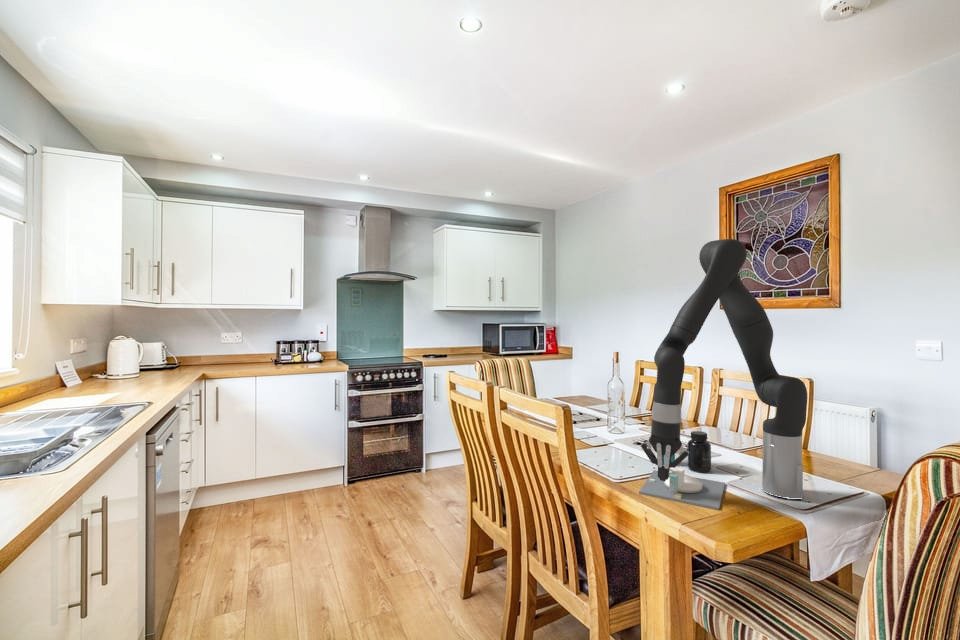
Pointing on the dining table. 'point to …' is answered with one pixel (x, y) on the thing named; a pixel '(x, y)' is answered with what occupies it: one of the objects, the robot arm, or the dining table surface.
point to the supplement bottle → (699, 452)
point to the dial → (683, 482)
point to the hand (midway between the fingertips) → (663, 480)
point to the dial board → (704, 498)
